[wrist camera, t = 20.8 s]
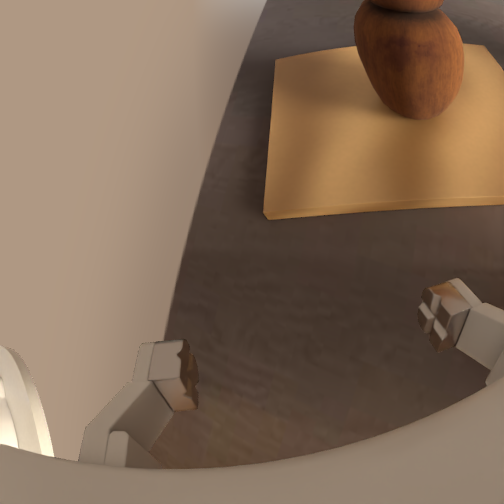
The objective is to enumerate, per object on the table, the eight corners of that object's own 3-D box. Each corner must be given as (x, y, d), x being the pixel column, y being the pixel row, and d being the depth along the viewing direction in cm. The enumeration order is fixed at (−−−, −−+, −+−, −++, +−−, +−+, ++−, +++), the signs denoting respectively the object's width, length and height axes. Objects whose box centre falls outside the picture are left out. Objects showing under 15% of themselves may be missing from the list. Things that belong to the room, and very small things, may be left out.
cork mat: (268, 220, 18) (262, 212, 18) (279, 67, 24) (275, 59, 23) (562, 204, 11) (568, 196, 10) (483, 53, 16) (483, 45, 15)
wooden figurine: (353, 86, 19) (283, -106, 6) (414, 66, 17) (376, -114, 4) (405, 147, 15) (357, -119, 3) (472, 120, 14) (468, -105, 1)
